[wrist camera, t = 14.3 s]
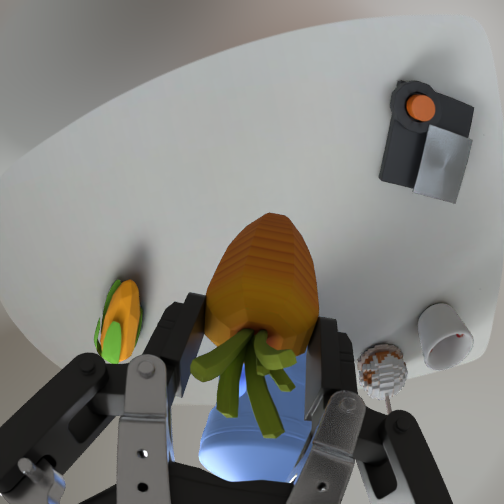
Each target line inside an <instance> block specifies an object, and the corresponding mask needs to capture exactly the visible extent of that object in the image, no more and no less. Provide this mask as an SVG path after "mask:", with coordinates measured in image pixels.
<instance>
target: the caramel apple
mask: <svg viewBox="0 0 504 504" xmlns="http://www.w3.org/2000/svg"><path fill="white" fill-rule="evenodd" d="M358 370H361V371H359V383H360V386H363V387H364V391H368V395H370V398H377V399H378V400H382V399H385V401H386V407H387V413H388V414H389V413H390V412H392V410H391V404H390V399H389V398H391V397H393V395H396V394H397V393H399V391H400V390H401V389H402V387H404V384H405V381H406V378H407V374H408V371H407V368H406V364H405V362H403V353H400V349H397V347H395V346H394V345H391V346H388V344H382V345H376V346H375V348H371V349H368V351H366V352H364V354H361V359H358Z"/></svg>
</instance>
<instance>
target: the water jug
mask: <svg viewBox="0 0 504 504" xmlns="http://www.w3.org/2000/svg"><path fill="white" fill-rule="evenodd" d="M307 347H308V346H307ZM306 353H307V348H306V351H305V353H303V354H301V355H299V356H296V360H297V363H296V364H294V365H292V366H290V367H287V368H283V369H284V371H285V372H286V374H287V375H288V376H289V378H290V379H291V380H292V382H293V383H294V385H295V386H296V387H295V389H293V390H292V391H291V392H285V391H281V390H280V389H279V387H278V386H277V385H276V383H275V382H274V380H273V379H272V377H271V376H270V375H269V374H268V375H265V379H266V383H267V387H268V390H269V392H270V395H271V397H272V399H273V402H274V404H275V406H276V408H277V411H278V413H279V416H280V419H281V422H282V424H283V427H284V430H285V432H284V433H283V434H281V435H280V436H279V437H277V438H264V437H263V436H262V433H261V431H260V428H259V426H258V423H257V421H256V419H255V416H254V413H253V410H252V406H251V403H250V400H249V396H248V393H247V386H246V377H245V365H244V364H243V368H242V372H241V377H240V382H239V407H238V418H226V417H225V416H224V415H223V414H222V413H220V412H219V411H218V410H217V409H216V407H217V402H216V406H215V407H214V408H213V409H212V410H211V411H210V413H209V416H208V421H207V424H206V427H205V428H204V431H203V435H202V438H201V443H200V451H199V459H200V462H201V463H202V465H203V466H204V467H205V468H206V469H208V470H209V471H210V472H212V473H213V474H215V475H217V476H219V477H221V478H222V479H224V480H227V481H231V482H235V481H251V480H269V481H278V482H285V481H286V479H287V477H288V476H289V474H290V472H291V471H292V469H293V467H294V465H295V462H296V460H297V458H298V456H299V454H300V452H301V449H302V447H303V445H304V443H305V441H306V438H307V436H308V434H309V432H310V431H311V426H312V421H304V410H305V383H306ZM219 377H220V375H219Z"/></svg>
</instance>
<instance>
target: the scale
mask: <svg viewBox="0 0 504 504" xmlns="http://www.w3.org/2000/svg"><path fill="white" fill-rule="evenodd" d="M416 94H418V95H425V96H428V97H429V98H430V99H431V100H432V101H433V103H434V105H435V114H434V116H433V117H432V119H430V120H428V121H420V120H417V119H414V118H413V117H411V116H410V115H409V113H408V111H407V107H406V105H407V101H408V99H409V98H410V97H411V96H412V95H416ZM390 108H391V111H392V117H391V122H390V127H389V132H388V137H387V142H386V147H385V151H384V156H383V160H382V165H381V169H380V173H379V179H380V180H381V181H384V182H388V183H393V184H397V185H401V186H405V187H409V188H414V184H415V180H416V176H417V173H418V169H419V165H420V161H421V157H422V152H423V148H424V144H425V139H426V135H427V130H428V125H429V124H430V125H433V126H436V127H439V128H442V129H444V130H447V131H450V132H453V133H456V134H458V135H461V136H464V137H466V138H468V136H469V132H470V127H471V122H472V117H473V112H474V107H472V106H470V105H467V104H465V103H463V102H460V101H458V100H455V99H453V98H450V97H448V96H445V95H443V94H440V93H437V92H435V91H434V90H433V89H432V87H431V86H430V85H428V84H425V83H422V82H419V81H409V82H405V81H398V82H397V88H396V89H395V90H394V91H393V92H392V96H391V102H390Z"/></svg>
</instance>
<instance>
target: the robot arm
mask: <svg viewBox="0 0 504 504" xmlns="http://www.w3.org/2000/svg"><path fill="white" fill-rule="evenodd" d="M206 297H207V296H206V295H201V294H196V293H191V292H189V293H188V295H187V297H186V299H185V302H184V304H183V303H179V302H174V303H172V304H171V305H170V306H169V307H167V308H166V309H165V311H164V313H163V315H162V317H161V319H160V321H159V323H158V325H157V327H156V329H155V330H154V332H153V334H152V336H151V338H150V340H149V342H148V344H147V346H146V348H145V350H144V352H143V354H142V355H140V356H137V357H135V358H134V359H132V360H131V361H130V363H126V364H105V361H104V359H103V358H102V357H101V356H99V355H98V354H95V353H83V354H80V355H78V356H77V357H75V358H74V359H73V360H72V361H71V362H70V363H69V364H67V365H66V366H65V367H64V368H63V369H62V370H61V371H60V372H59V373H58V374H57V375H55V376H54V377H53V378H52V379H51V380H50V381H49V382H48V383H47V384H46V385H45V386H44V387H42V388H41V389H40V390H39V391H38V392H37V393H36V394H35V395H34V396H33V397H32V398H31V399H30V400H28V401H27V403H25V404H24V405H23V406H22V407H21V408H20V409H19V410H18V411H17V412H16V413H15V414H14V415H13V416H12V417H11V418H10V419H9V420H7V421H6V422H5V423H4V424H3V425H2V426H1V427H0V495H2V496H3V497H4V498H5V500H6V501H7V502H8V503H9V504H60V499H61V497H62V495H63V494H64V491H65V481H64V478H63V474H64V473H65V472H66V471H67V470H68V469H69V468H70V467H71V466H72V465H73V463H74V462H75V461H76V460H77V459H78V458H79V457H80V455H82V453H83V452H84V451H85V450H86V449H87V448H88V447H89V446H90V444H91V443H92V442H93V441H94V440H95V439H96V438H97V437H98V436H99V435H100V433H101V432H102V431H103V430H104V429H105V428H106V427H107V426H108V424H109V423H110V422H111V421H112V420H113V419H114V418H115V417H116V416H120V419H119V426H118V445H117V484H115V485H113V486H111V487H110V488H108V489H106V490H104V491H102V492H100V493H98V494H96V495H94V496H93V497H90V498H89V499H87V500H85V501H83V502H80V503H79V504H341V501H342V498H343V496H344V493H345V490H346V487H347V484H348V482H349V479H350V476H351V473H352V470H353V467H354V463H355V459H356V462H357V465H358V468H359V471H360V474H361V477H362V480H363V483H364V486H365V488H366V492H367V494H368V497H369V501H370V504H453V502H452V500H451V497H450V495H449V493H448V490H447V488H446V485H445V483H444V481H443V478H442V476H441V474H440V471H439V469H438V467H437V464H436V462H435V460H434V458H433V455H432V453H431V451H430V449H429V447H428V444H427V443H426V440H425V438H424V436H423V434H422V432H421V429H420V427H419V425H418V423H417V421H416V419H415V418H414V417H413V416H412V415H411V414H410V413H408V412H406V411H403V410H395V411H392V412H390V413H389V414H388V415H385V414H382V413H380V412H377V411H374V410H372V409H370V408H368V407H367V406H365V403H364V401H363V399H362V398H361V397H360V396H359V395H358V392H357V382H356V373H355V364H354V355H353V347H352V342H351V341H350V339H349V337H348V336H347V334H346V333H341V332H338V329H337V321H336V319H332V318H326V317H318V319H317V321H316V324H315V327H314V330H313V332H312V335H311V338H310V341H309V343H308V347H307V353H306V383H305V410H304V421H312V426H311V431H310V432H309V434H308V436H307V438H306V441H305V443H304V445H303V447H302V449H301V452H300V454H299V456H298V458H297V460H296V462H295V465H294V467H293V469H292V471H291V472H290V474H289V476H288V477H287V479H286V481H285V482H278V481H269V480H251V481H235V482H231V481H227V480H224V479H222V478H220V477H217V476H215V475H213V474H211V473H209V472H206V471H204V470H202V469H200V468H197V467H192V466H188V465H184V464H180V463H177V462H175V461H174V452H173V439H172V418H171V406H172V403H173V400H174V397H175V396H177V397H181V398H182V397H183V394H184V391H185V388H186V385H187V382H188V379H189V376H190V374H191V373H190V365H191V363H192V360H193V359H195V358H196V356H197V353H198V350H199V348H200V345H201V342H202V339H203V336H204V326H205V307H206Z"/></svg>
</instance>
